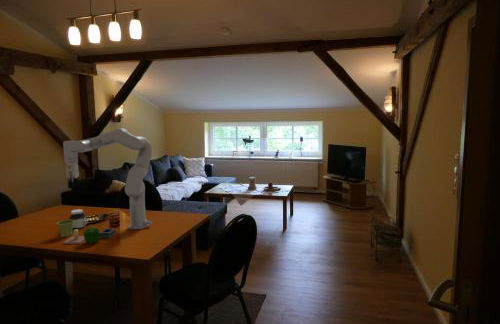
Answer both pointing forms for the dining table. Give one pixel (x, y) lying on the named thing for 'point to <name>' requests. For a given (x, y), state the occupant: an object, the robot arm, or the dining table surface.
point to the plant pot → (65, 227)
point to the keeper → (75, 238)
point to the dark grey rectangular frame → (107, 233)
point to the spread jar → (78, 219)
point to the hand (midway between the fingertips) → (73, 186)
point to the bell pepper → (91, 235)
